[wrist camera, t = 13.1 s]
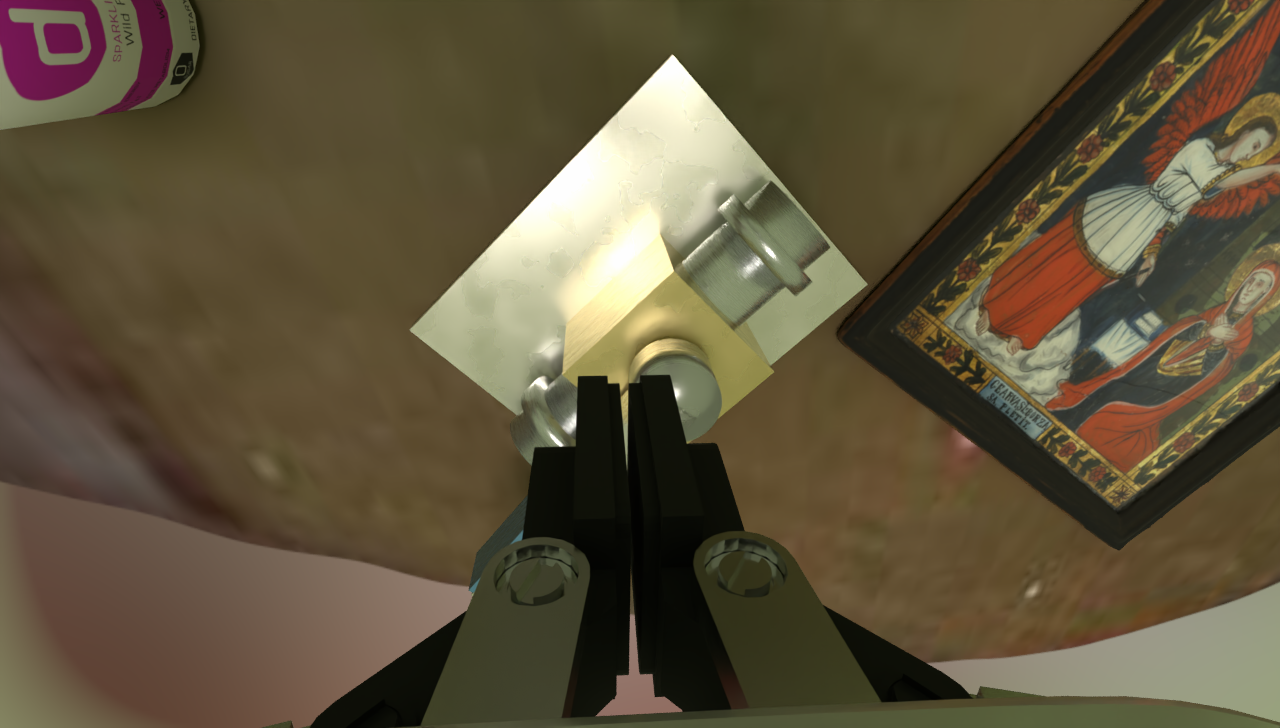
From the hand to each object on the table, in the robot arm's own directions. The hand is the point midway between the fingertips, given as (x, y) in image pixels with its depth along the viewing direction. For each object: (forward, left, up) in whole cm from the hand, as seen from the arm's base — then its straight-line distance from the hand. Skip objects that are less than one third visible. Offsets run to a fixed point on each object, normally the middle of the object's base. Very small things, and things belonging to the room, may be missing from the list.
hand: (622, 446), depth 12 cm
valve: (+4, +7, -29) cm, 30 cm away
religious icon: (-23, +31, -30) cm, 49 cm away
